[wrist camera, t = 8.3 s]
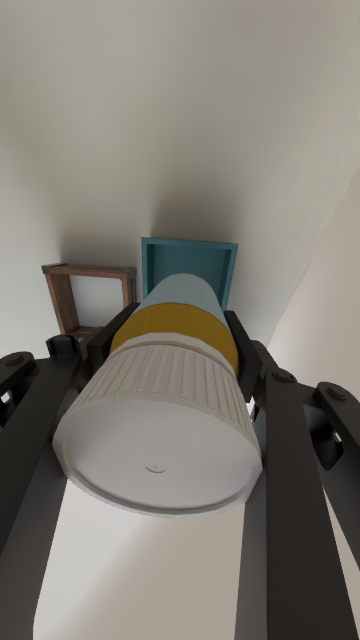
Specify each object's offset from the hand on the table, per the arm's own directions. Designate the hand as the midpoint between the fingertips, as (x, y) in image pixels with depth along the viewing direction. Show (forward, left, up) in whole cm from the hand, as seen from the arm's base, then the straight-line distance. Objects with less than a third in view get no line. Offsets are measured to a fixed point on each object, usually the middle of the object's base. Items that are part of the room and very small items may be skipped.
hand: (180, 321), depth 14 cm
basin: (0, 0, -15) cm, 15 cm away
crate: (+5, -15, -15) cm, 22 cm away
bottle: (0, 0, -5) cm, 5 cm away
